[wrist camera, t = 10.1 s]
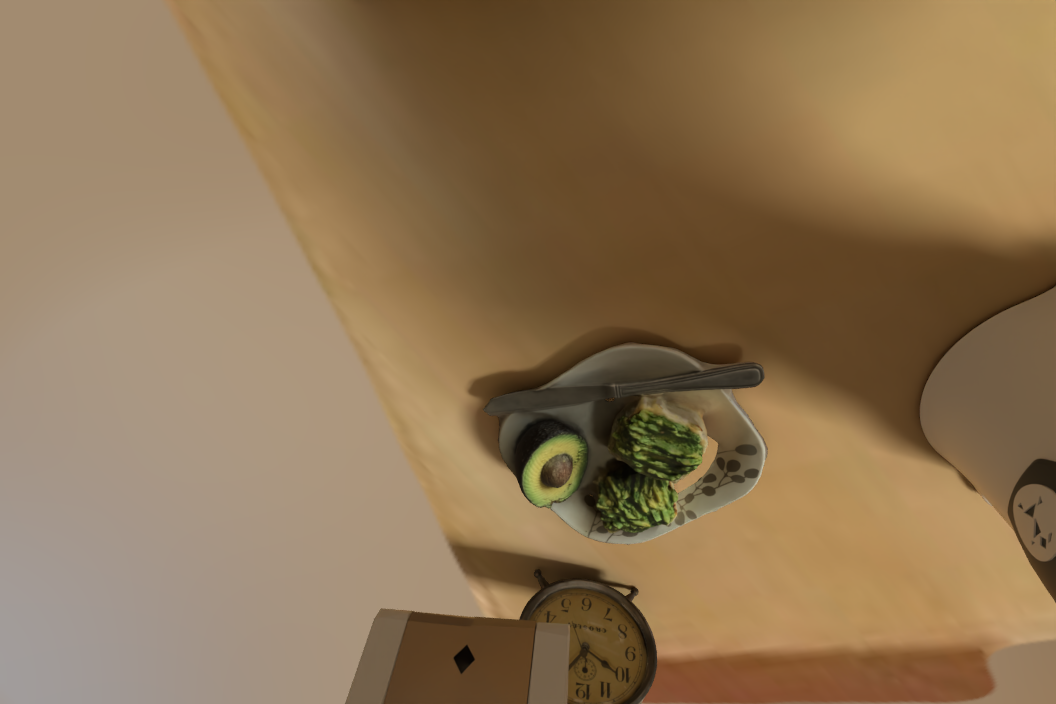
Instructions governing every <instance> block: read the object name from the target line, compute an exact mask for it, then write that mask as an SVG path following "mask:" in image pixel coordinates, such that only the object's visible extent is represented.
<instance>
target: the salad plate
mask: <svg viewBox="0 0 1056 704" xmlns="http://www.w3.org/2000/svg"><path fill="white" fill-rule="evenodd" d="M763 379H764V370H763V367H762V366H761V365H760V364H757V363H754V362H744V363H732V364H720V365H715V364H709V363H705V362H701V361H699V360H698V359H695V358H693V357H691V356H689V355H688V354H686V353H684V352H682V351H680V350H678V349H675V348H671V347H663V346H657V345H646V344H639V343H634V342H629V343H625V344H621V345H617V346H613V347H610V348H608V349H606V350H604V351H601V352H598V353H596V354H594V355H592V356H590V357H588V358H586V359H584V360H582V361H580V362H579V363H577V364H576V365H575V366H573V367H572V368H571V369H569V370H567V371H566V372H564V373H562V374H561V375H560V376H558V377H557V378H555V379H553V380H552V381H550V382H548V383H546V384H544V385H542V386H540V387H537V388H533V389H529V390H521V391H517V392H512V393H509V394H505V395H502V396H498V397H495V398H492V399H490V401H489V403H488V404H487V406H485V408H484V409H483V410H484V411H485V412H486V413H488V415H490V416H498V418H499V438H498V441H499V449H500V452H501V454H502V458H503V460H504V462H505V463H506V464H507V466H508V468H509V469H510V470H511V471H512V472H513V474H514V475H515V476H516V478H517V480H518V483H519V486H520V488H521V491H522V493H523V494H524V496H525V497H526V498H527V499H528V501H529V502H530V503H532V504H533V505H535V506H536V507H540V508H542V507H547V508H550V509H551V510H552V511H554V512H555V513H556V514H557V515H558V516H559V517H560V518H561V519H562V520H563V521H564V522H566V523H567V524H568V525H569V526H570V527H572V528H573V529H574V530H576V531H577V532H579V533H580V534H582V535H584V536H585V537H587V538H590V539H593V540H596V541H600V542H605V543H613V544H627V545H628V544H636V543H642V542H645V541H648V540H652V539H654V538H656V537H659V536H661V535H663V534H665V533H668V532H670V531H672V530H674V529H676V528H678V527H680V526H682V525H684V524H686V523H688V522H690V521H693V520H695V519H697V518H699V517H701V516H703V515H705V514H708V513H710V512H714V511H717V510H718V509H719V508H721V507H724V506H726V505H728V504H730V503H732V502H734V501H736V500H738V499H740V498H741V497H743V496H745V495H746V494H748V493H749V492H750V491H751V490H752V489H753V488H754V486H755V485H756V483H757V482H758V480H759V478H760V476H761V473H762V469H763V466H764V462H765V460H766V457H767V450H768V448H767V446H766V444H765V441H764V439H763V437H762V436H761V435H760V433H759V432H758V430H757V429H756V428H755V426H754V424H753V422H752V421H751V419H750V418H749V416H748V415H747V414H746V412H745V411H744V410H743V409H742V408H741V407H740V405H739V404H738V403H737V402H736V399H735V397H734V395H733V393H732V389H739V388H749V387H750V388H751V387H756V386H758V385H759V384H760V383H761V382H762V381H763ZM609 398H615V400H614V401H611V402H608V401H606V400H605V399H609ZM707 435H708V436H709V437H711V438H712V439H713V440H715V441H716V442H717V443H718V444H719V445H718V450H717V455H716V457H715V460H714V461H713V463H712V464H711V466H710V468H709V470H708V471H707V472H706V474H705V475H704V476H703V477H701V478H700V479H699V480H698V481H697V482H696V483H694V484H693V485H691V486H690V487H688V488H686V489H685V490H683V491H681V492H680V493H678V494H677V492H676V491H675V489H674V484H676V483H677V482H678V481H679V480H681V479H684V478H685V477H686V476H687V475H688V474H689V473H690V472H692V471H693V470H695V469H697V466H698V465H700V464H701V463H702V455H703V454H704V453H705V450H706V447H707V445H708V438H707ZM673 483H674V484H673ZM590 495H592V496H593V497H592V496H590Z"/></svg>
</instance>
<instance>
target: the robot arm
mask: <svg viewBox="0 0 1056 704" xmlns="http://www.w3.org/2000/svg"><path fill="white" fill-rule="evenodd" d="M920 421H921V426H922V429H923V432H924V434H925V436H926V438H927V440H928V442H929V443H930V444H931V446H932V447H933V448H934V449H935V450H936V451H937V452H938V453H939V454H940V455H941V456H942V457H944V458H945V459H946V460H947V461H949V462H950V463H951V464H952V465H953V466H954V467H955V468H957V469H958V470H959V471H960V472H961V473H962V474H963V475H964V476H965V477H966V478H967V479H968V480H969V481H970V482H971V483H972V484H973V485H974V487H975V489H976V490H977V492H978V493H979V494H980V495H981V496H982V498H983V499H984V500H985V501H986V502H987V503H988V504H989V505H991V506H993V507H994V508H995V509H996V511H997V512H998V513H999V514H1000V515H1001V516H1002V517H1003V519H1004V520H1005V521H1006V522H1007V523H1008V524H1009V526H1010V527H1011V528H1012V529H1013V530H1014V531H1015V533H1016V536H1017V538H1018V540H1019V542H1020V544H1021V546H1022V548H1023V550H1024V552H1025V554H1026V556H1027V558H1028V560H1029V562H1030V564H1031V566H1032V567H1033V569H1034V570H1035V572H1036V573H1037V575H1038V577H1039V578H1040V580H1041V581H1042V583H1043V584H1044V586H1045V587H1046V589H1047V590H1048V592H1049V593H1050V595H1051V596H1052V598H1053V599H1054V600H1055V602H1056V286H1055V287H1054V288H1052V289H1050V290H1049V291H1047V292H1045V293H1043V294H1041V295H1039V296H1037V297H1035V298H1032V299H1030V300H1028V301H1025V302H1023V303H1021V304H1018V305H1016V306H1014V307H1011V308H1009V309H1007V310H1005V311H1003V312H1001V313H999V314H997V315H995V316H993V317H992V318H990V319H988V320H987V321H985V322H983V323H982V324H980V325H979V326H977V327H976V328H974V329H973V330H972V331H970V332H969V333H968V334H967V335H965V336H964V337H963V338H962V339H961V340H959V341H958V342H957V343H956V344H955V345H954V346H953V347H952V348H951V349H950V350H949V351H948V352H947V353H946V354H945V355H944V357H943V358H942V359H941V360H940V362H939V363H938V364H937V366H936V367H935V369H934V370H933V372H932V373H931V375H930V377H929V379H928V381H927V383H926V385H925V388H924V391H923V394H922V398H921V403H920ZM569 644H570V624H559V623H546V622H538V623H537V621H530V620H516V619H501V618H486V617H466V616H455V615H444V614H433V613H422V612H414V611H406V610H394V609H380V611H379V613H378V614H377V616H376V617H375V619H374V621H373V625H372V627H371V630H370V633H369V636H368V639H367V642H366V645H365V647H364V650H363V654H362V656H361V659H360V662H359V665H358V668H357V671H356V674H355V677H354V680H353V682H352V685H351V688H350V691H349V694H348V697H347V700H346V703H345V704H567V696H568V670H569Z"/></svg>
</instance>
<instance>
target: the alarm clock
mask: <svg viewBox="0 0 1056 704" xmlns="http://www.w3.org/2000/svg"><path fill="white" fill-rule="evenodd" d="M534 576H535V577H536V578H538V581H539V583H540V586H541V588H542V589H541V590H540V591H538V592H537V593H536V594H535V595H534V596H533V597H532V598H531V599H530V600H529V601H528V603H527V604H526V606H525V608H524V610H523V612H522V614H521V616H520V619H519V620H530V621H537V623H538V622H546V623H559V624H570V644H569V670H568V696H567V704H641V703H642V701H643V699H644V698H645V696H646V694H647V693H648V691H649V689H650V687H651V686H652V683H653V681H654V677H655V673H656V668H657V651H656V645H655V640H654V637H653V634H652V631H651V629H650V627H649V625H648V623H647V621H646V619H645V617H644V616H643V614H642V613H641V612H640V610H639V609H638V608H637V607H636V606H635V605H634V604H633V603H632V600H633V599H634V596H636V595H638V589H637V588H633V589H632V590H631V593H630V594H628V595H627V596H624V595H623V594H622V593H620V592H619V591H617V590H615V589H614V588H612V587H610V586H608V585H606V584H603V583H600V582H597V581H592V580H587V579H566V580H561V581H557V582H554V583H552V584H549V583H548V582H547V581H546V580H545V579H544V577H543V576H542V575H541V571H540V570H535V572H534Z"/></svg>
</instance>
